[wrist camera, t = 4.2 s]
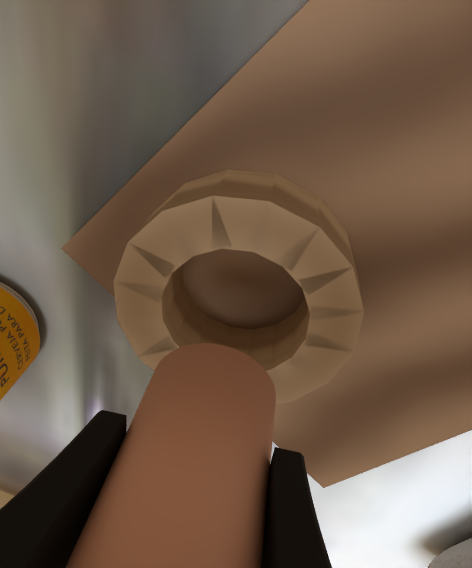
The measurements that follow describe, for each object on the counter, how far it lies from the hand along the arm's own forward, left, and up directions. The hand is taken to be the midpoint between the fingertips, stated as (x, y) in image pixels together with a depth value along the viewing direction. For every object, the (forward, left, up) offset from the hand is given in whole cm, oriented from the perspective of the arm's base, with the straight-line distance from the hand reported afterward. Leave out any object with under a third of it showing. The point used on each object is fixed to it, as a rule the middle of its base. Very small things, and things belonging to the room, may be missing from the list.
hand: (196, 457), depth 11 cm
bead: (0, 0, -9) cm, 9 cm away
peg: (0, 0, -2) cm, 2 cm away
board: (-4, -3, -10) cm, 11 cm away
